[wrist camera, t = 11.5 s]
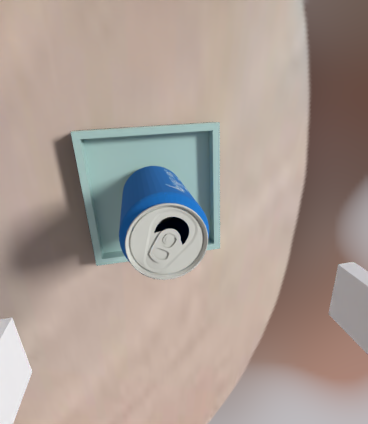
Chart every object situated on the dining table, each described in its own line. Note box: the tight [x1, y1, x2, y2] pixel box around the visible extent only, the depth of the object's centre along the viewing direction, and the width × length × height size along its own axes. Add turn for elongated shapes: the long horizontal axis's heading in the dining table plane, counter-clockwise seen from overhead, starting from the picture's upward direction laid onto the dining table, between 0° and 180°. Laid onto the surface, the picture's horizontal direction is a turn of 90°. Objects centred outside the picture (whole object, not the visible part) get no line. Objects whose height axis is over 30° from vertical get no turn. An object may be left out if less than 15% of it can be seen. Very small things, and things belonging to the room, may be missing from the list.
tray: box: [71, 122, 220, 266], centre depth 28 cm, size 14×14×2 cm
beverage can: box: [119, 166, 209, 280], centre depth 23 cm, size 6×6×12 cm
